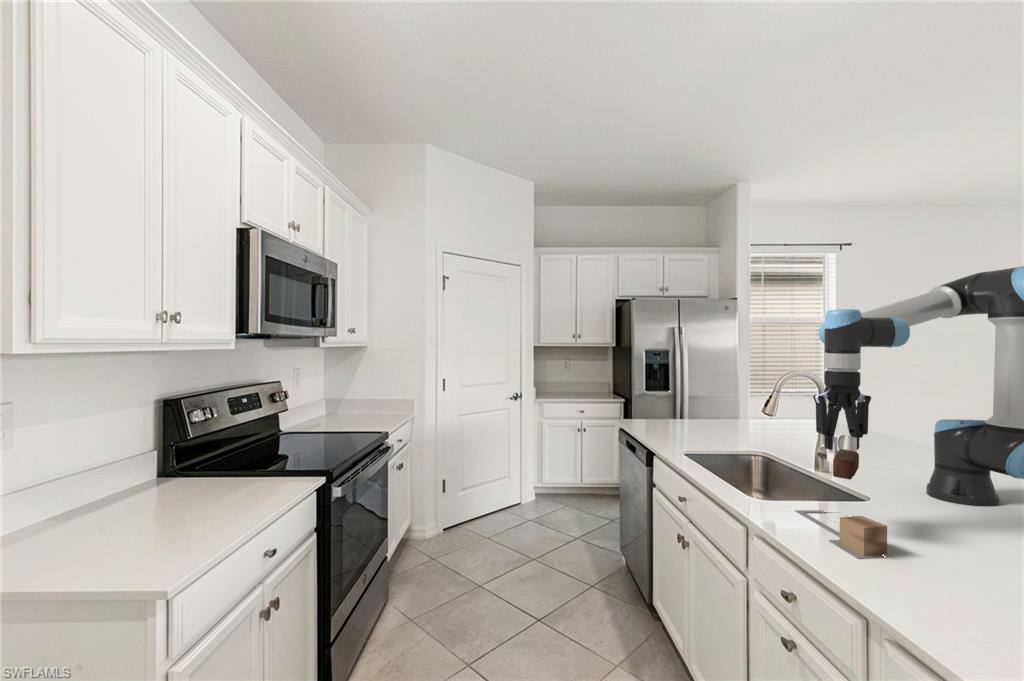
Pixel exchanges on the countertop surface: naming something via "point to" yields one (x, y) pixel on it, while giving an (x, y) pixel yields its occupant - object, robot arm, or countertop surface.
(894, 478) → the countertop surface
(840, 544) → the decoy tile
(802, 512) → the frame
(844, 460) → the brick
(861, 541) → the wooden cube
